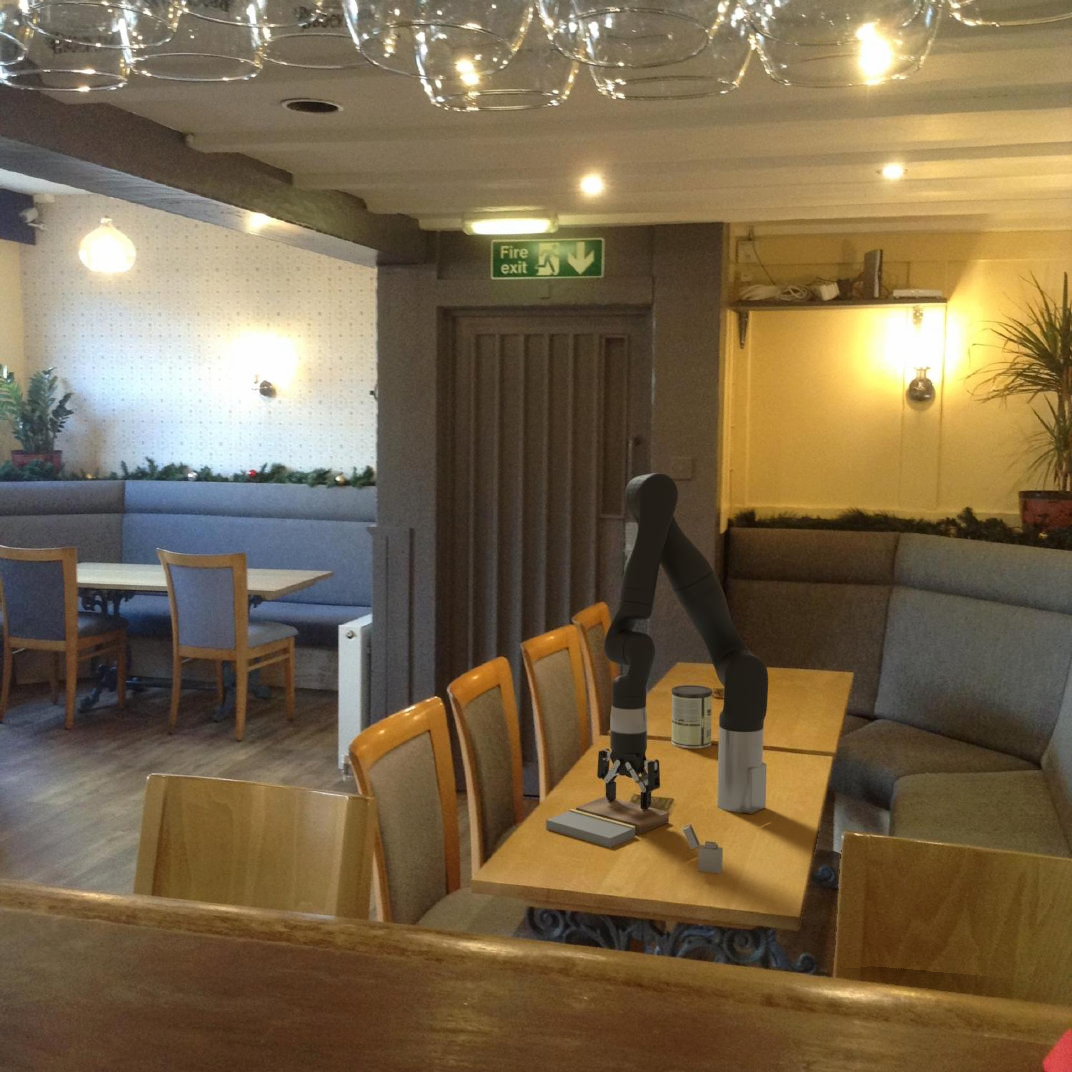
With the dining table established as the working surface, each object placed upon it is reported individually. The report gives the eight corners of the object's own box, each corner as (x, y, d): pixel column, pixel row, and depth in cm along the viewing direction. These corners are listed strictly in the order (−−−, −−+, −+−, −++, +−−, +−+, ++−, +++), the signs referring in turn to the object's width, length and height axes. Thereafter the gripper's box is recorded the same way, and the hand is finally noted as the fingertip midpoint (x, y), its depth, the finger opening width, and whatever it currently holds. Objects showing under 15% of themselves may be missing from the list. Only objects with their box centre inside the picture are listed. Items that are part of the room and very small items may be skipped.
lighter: (722, 870, 213) (723, 827, 213) (720, 874, 212) (721, 830, 211) (683, 865, 216) (684, 823, 215) (681, 868, 214) (682, 825, 213)
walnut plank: (668, 821, 239) (668, 812, 239) (639, 834, 231) (639, 825, 231) (605, 805, 249) (605, 795, 249) (576, 817, 242) (576, 807, 242)
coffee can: (670, 737, 306) (671, 684, 305) (710, 739, 305) (711, 685, 304) (670, 748, 296) (671, 693, 295) (712, 749, 295) (713, 694, 294)
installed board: (635, 837, 230) (635, 826, 230) (610, 848, 224) (610, 836, 224) (571, 819, 241) (571, 808, 241) (546, 829, 235) (546, 818, 235)
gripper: (668, 729, 240) (667, 807, 241) (612, 718, 249) (611, 793, 251) (646, 736, 234) (645, 816, 236) (590, 725, 244) (589, 801, 245)
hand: (628, 804), depth 243 cm, fingers open, 8 cm apart
